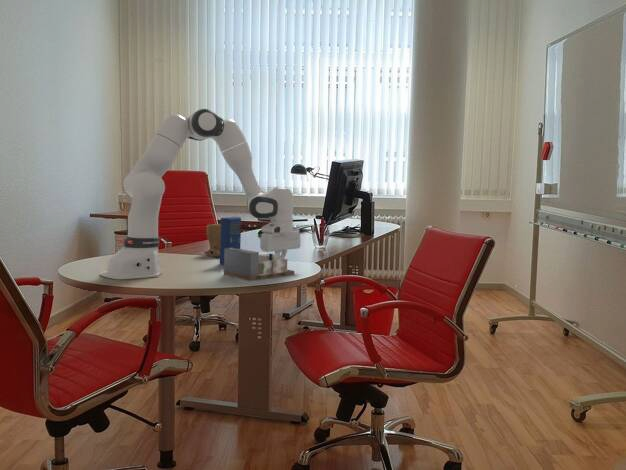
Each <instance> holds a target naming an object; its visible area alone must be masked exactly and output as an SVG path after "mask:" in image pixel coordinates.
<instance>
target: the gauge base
mask: <svg viewBox="0 0 626 470" xmlns="http://www.w3.org/2000/svg"><path fill="white" fill-rule="evenodd" d="M223 276H225V277H230V278H235V279H238V280H239V279H240V280H245V281H248V282H252V281H258V280H265V279H274V278H280V277H288V276H295V270H291V269H288V259H287V258H285V259H279V260H270V261H262V262H259V263H258V276H254V277H248V276H243V275H238V274H234V273H229V272H224V271H223Z"/></svg>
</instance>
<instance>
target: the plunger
mask: <svg viewBox="0 0 626 470" xmlns="http://www.w3.org/2000/svg"><path fill="white" fill-rule="evenodd" d="M269 254H270V253H268V252H267V253H266V252H259V262H262V261H270V260H269ZM273 260H278V255H276V254H273Z"/></svg>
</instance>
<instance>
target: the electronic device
mask: <svg viewBox="0 0 626 470" xmlns="http://www.w3.org/2000/svg"><path fill="white" fill-rule="evenodd" d="M220 224H221V248H220V256H219V265H221V266H224V248H237V249H241V242H242V241H241V239H242V235H241V232H242V218H241V217H239V216H231V217H229V216H228V217H221V218H220Z"/></svg>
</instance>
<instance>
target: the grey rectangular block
mask: <svg viewBox="0 0 626 470" xmlns="http://www.w3.org/2000/svg"><path fill="white" fill-rule="evenodd" d="M259 253H260V252H259V251H254V250H247V249H242V248H240V249H237V248H224V265H223V273H224V272H229V273H234V274H238V275H243V276H248V277H254V276H258V263H259Z"/></svg>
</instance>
